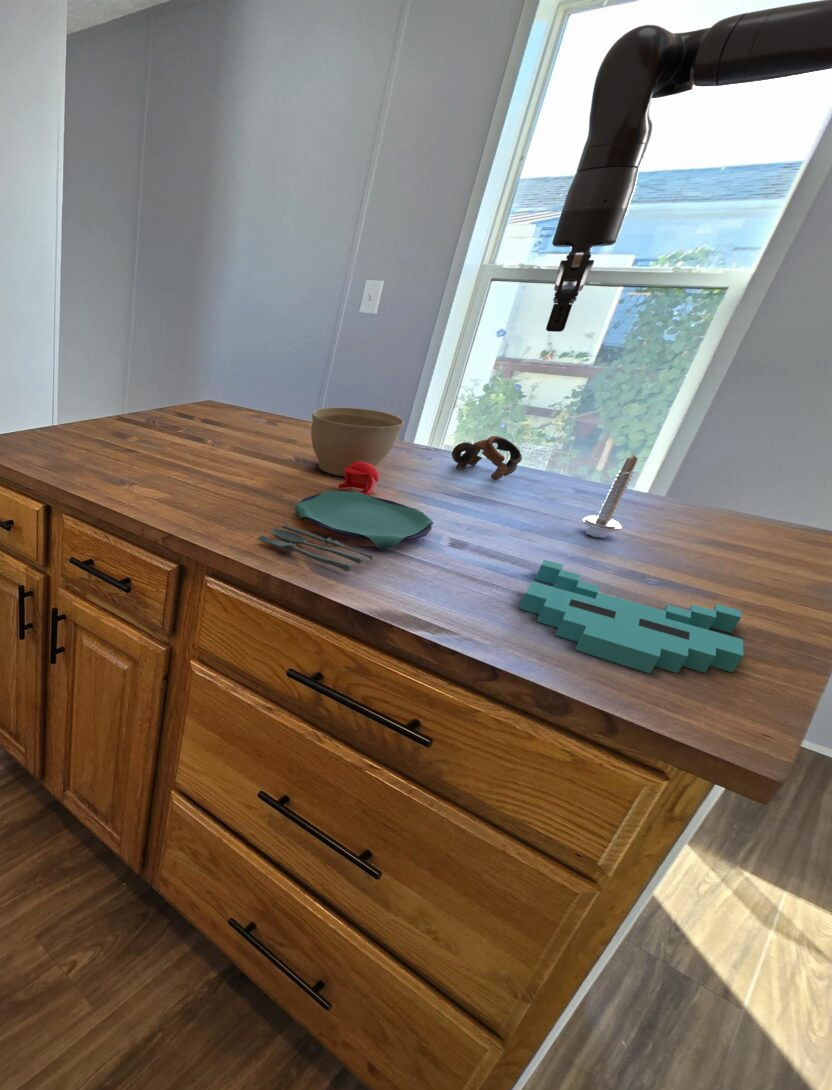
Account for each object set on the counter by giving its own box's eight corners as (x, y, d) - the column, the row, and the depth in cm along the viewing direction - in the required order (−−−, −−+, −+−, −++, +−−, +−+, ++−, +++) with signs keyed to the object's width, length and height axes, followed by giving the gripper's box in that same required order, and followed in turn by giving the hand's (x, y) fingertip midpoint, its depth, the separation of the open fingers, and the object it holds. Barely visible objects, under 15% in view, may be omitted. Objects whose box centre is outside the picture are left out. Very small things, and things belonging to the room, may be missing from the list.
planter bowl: (401, 471, 131) (417, 417, 125) (367, 490, 121) (383, 431, 116) (323, 453, 141) (335, 402, 135) (286, 469, 131) (298, 414, 126)
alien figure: (537, 573, 92) (508, 628, 79) (544, 559, 91) (515, 612, 78) (731, 626, 80) (733, 700, 67) (741, 610, 79) (745, 682, 66)
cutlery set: (449, 529, 105) (454, 516, 104) (358, 583, 89) (362, 568, 88) (333, 495, 119) (336, 482, 118) (234, 536, 102) (237, 522, 101)
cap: (346, 484, 124) (354, 453, 121) (379, 492, 120) (388, 460, 117) (329, 494, 119) (337, 462, 116) (363, 503, 115) (372, 470, 112)
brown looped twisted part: (483, 466, 136) (517, 437, 129) (497, 499, 131) (533, 471, 124) (433, 451, 134) (465, 421, 127) (445, 485, 129) (479, 455, 122)
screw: (574, 534, 104) (581, 526, 107) (612, 544, 101) (617, 535, 104) (610, 454, 98) (616, 448, 101) (652, 462, 95) (657, 455, 98)
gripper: (632, 201, 86) (586, 333, 93) (625, 211, 97) (584, 330, 104) (561, 204, 90) (522, 331, 97) (562, 214, 101) (527, 328, 108)
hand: (554, 330), depth 100 cm, fingers open, 8 cm apart
